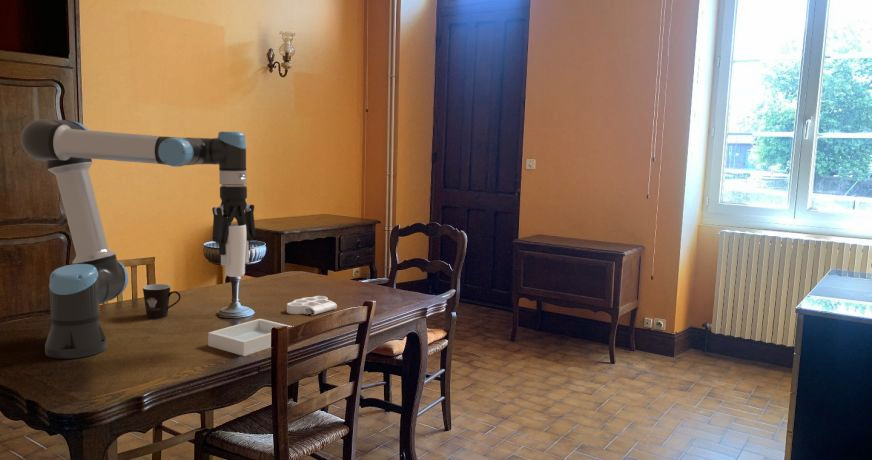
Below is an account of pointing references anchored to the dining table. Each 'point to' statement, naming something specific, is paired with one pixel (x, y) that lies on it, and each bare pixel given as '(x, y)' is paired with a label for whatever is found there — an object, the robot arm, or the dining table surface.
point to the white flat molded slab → (311, 305)
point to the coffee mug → (157, 300)
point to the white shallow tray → (244, 337)
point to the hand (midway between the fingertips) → (235, 263)
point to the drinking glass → (236, 250)
